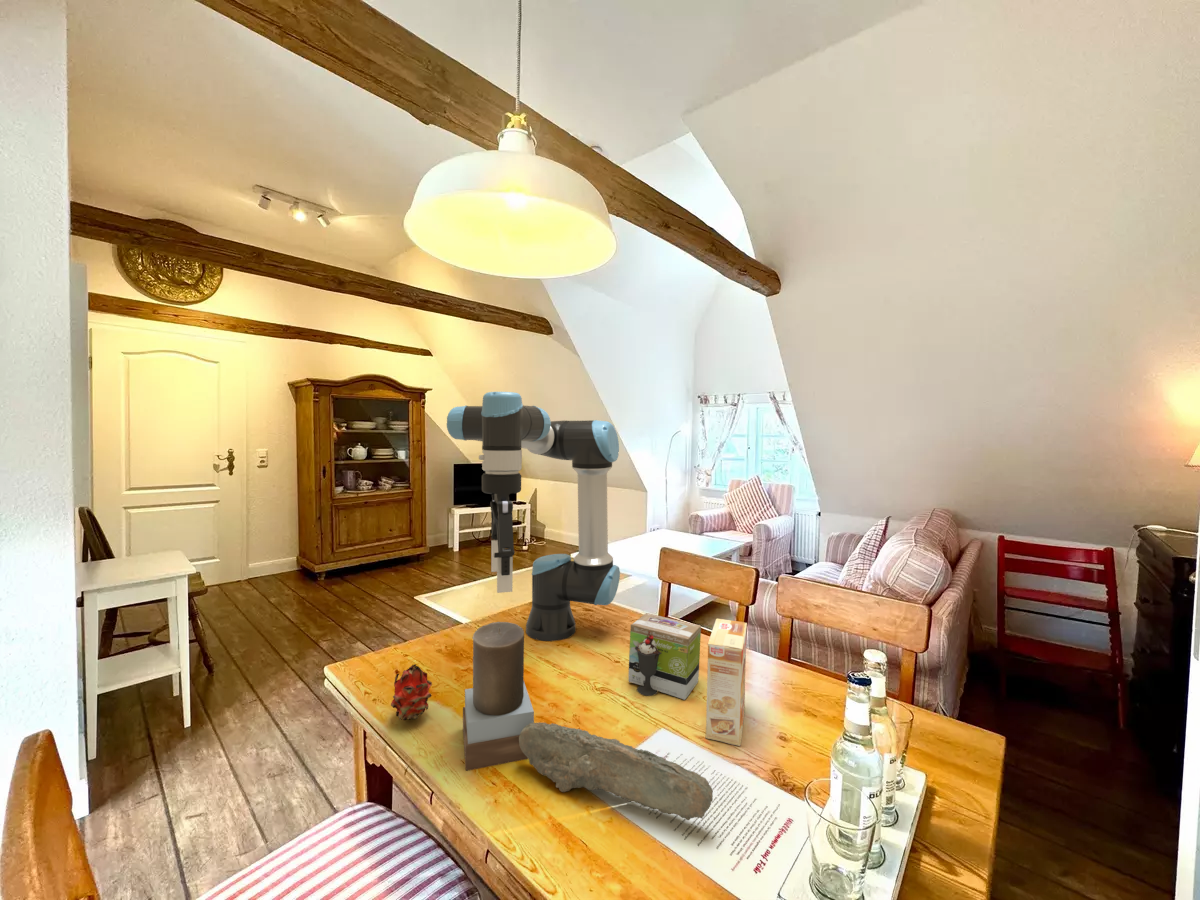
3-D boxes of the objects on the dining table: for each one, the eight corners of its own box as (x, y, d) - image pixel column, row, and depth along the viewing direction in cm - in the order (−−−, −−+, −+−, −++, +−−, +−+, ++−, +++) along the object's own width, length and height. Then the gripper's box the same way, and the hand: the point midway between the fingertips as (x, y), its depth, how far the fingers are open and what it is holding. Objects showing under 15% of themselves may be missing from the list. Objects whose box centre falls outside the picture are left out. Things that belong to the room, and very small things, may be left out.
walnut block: (462, 731, 100) (462, 707, 100) (525, 720, 104) (526, 697, 104) (465, 773, 88) (465, 746, 87) (537, 759, 92) (537, 733, 91)
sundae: (642, 700, 111) (645, 635, 111) (628, 686, 117) (630, 625, 117) (666, 694, 114) (669, 631, 114) (651, 681, 120) (653, 621, 120)
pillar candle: (530, 706, 93) (532, 633, 91) (480, 722, 88) (481, 645, 86) (512, 679, 101) (514, 611, 99) (466, 692, 96) (466, 621, 94)
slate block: (464, 708, 99) (464, 689, 99) (523, 699, 103) (523, 680, 103) (467, 744, 88) (467, 722, 88) (533, 732, 92) (533, 711, 92)
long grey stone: (715, 818, 78) (716, 757, 77) (709, 844, 73) (710, 779, 72) (525, 760, 91) (525, 707, 91) (509, 778, 86) (509, 723, 86)
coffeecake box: (741, 747, 95) (743, 649, 95) (704, 738, 98) (706, 643, 97) (746, 707, 109) (747, 621, 109) (713, 701, 112) (715, 617, 111)
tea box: (627, 683, 118) (629, 623, 118) (643, 667, 127) (645, 611, 127) (686, 701, 111) (688, 637, 111) (699, 683, 120) (701, 623, 120)
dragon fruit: (379, 727, 100) (379, 670, 100) (405, 705, 108) (405, 652, 108) (415, 734, 98) (415, 676, 97) (439, 711, 106) (439, 657, 106)
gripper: (478, 467, 105) (478, 565, 106) (486, 478, 81) (485, 604, 82) (513, 467, 107) (513, 562, 108) (530, 477, 83) (530, 600, 84)
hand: (501, 580), depth 95 cm, fingers open, 13 cm apart
